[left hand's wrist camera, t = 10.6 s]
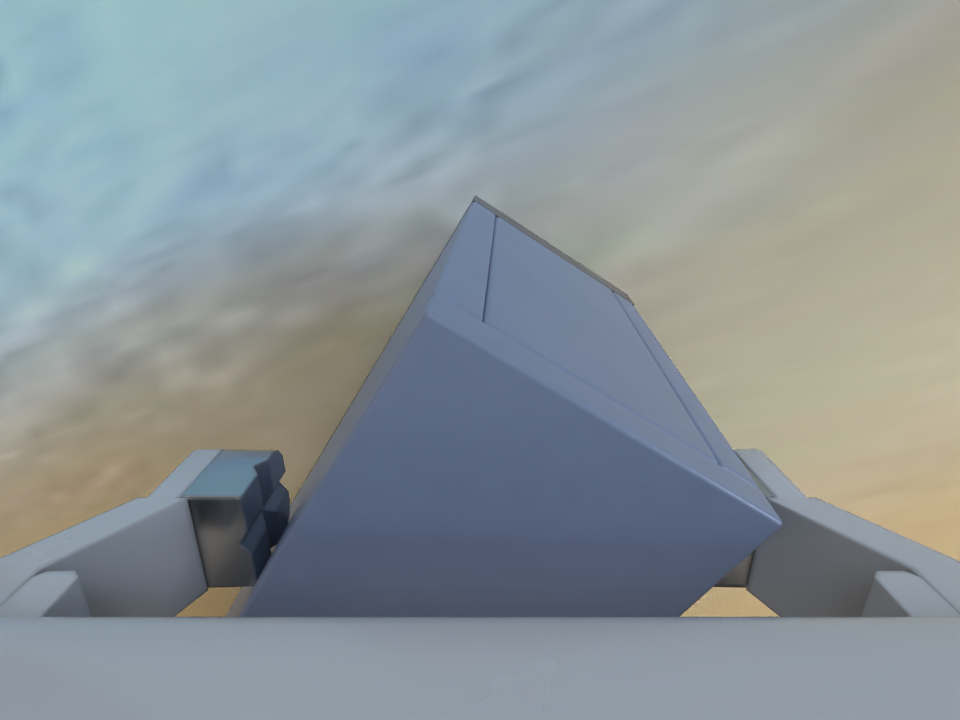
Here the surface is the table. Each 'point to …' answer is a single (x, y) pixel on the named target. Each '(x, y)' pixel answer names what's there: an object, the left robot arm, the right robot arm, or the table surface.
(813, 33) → the table surface
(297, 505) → the cabinet
